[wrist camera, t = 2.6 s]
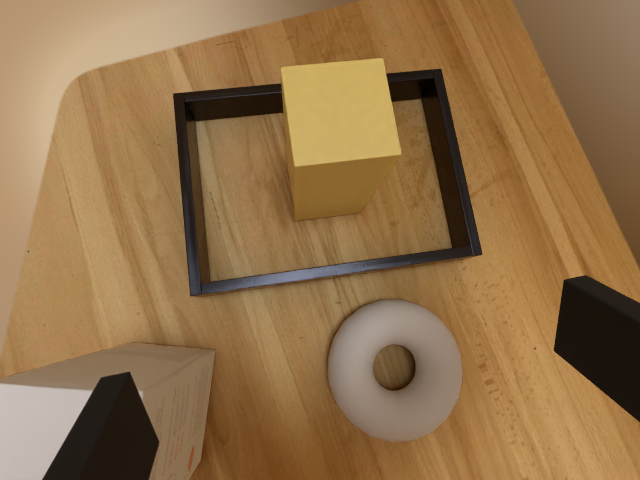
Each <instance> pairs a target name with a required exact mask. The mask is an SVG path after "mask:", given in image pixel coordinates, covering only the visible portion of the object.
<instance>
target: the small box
mask: <svg viewBox="0 0 640 480" xmlns="http://www.w3.org/2000/svg"><path fill="white" fill-rule="evenodd" d="M214 357H215V350H214V349H202V348H190V347H179V346H168V345H157V344H146V343H129V344H126V345H122V346H118V347H114V348H110V349H106V350H102V351H99V352H95V353H92V354H88V355H84V356H81V357H77V358H73V359H69V360H66V361H62V362H58V363H54V364H51V365H48V366H44V367H40V368H37V369H33V370H30V371H26V372H22V373H18V374H15V375H11V376H7V377H4V378H0V480H42V479H43V477H44V475H45V474H46V472H47V470H48V468H49V467H50V465H51V463H52V461H53V460H54V458H55V456H56V454H57V453H58V451H59V449H60V447H61V446H62V444H63V442H64V441H65V439H66V437H67V435H68V434H69V432H70V430H71V428H72V427H73V425H74V423H75V421H76V420H77V418H78V416H79V414H80V413H81V411H82V409H83V407H84V406H85V404H86V402H87V400H88V399H89V397H90V395H91V393H92V392H93V390H94V388H95V387H96V385H97V383H98V381H99V380H100V378H101V377H105V376H110V375H115V374H120V373H124V372H129V371H130V373H131V375H132V378H133V380H134V383H135V385H136V387H137V390H138V392H139V394H140V397H141V399H142V402H143V404H144V406H145V409H146V411H147V413H148V416H149V418H150V421H151V423H152V425H153V428H154V430H155V433H156V435H157V437H158V440H159V442H160V443H159V446H158V450H157V453H156V457H155V460H154V464H153V467H152V471H151V474H150V478H149V480H189V479H190V477H191V475H192V474H193V472H194V470H195V469H196V467H197V466H198V464H199V463H200V461H201V455H202V448H203V441H204V434H205V427H206V419H207V412H208V404H209V397H210V389H211V381H212V374H213V366H214Z"/></svg>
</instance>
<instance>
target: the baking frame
mask: <svg viewBox="0 0 640 480" xmlns="http://www.w3.org/2000/svg"><path fill="white" fill-rule="evenodd" d="M386 76H387V81H388V86H389V91H390V97H391V101H399V100H409V99H419V98H422V101H423V106H424V111H425V116H426V120H427V125H428V130H429V135H430V140H431V144H432V149H433V154H434V159H435V163H436V168H437V173H438V178H439V183H440V187H441V192H442V197H443V202H444V206H445V211H446V216H447V221H448V226H449V230H450V235H451V240H452V245H453V248H451V249H443V250H436V251H429V252H422V253H415V254H408V255H400V256H393V257H386V258H379V259H372V260H365V261H358V262H350V263H343V264H336V265H329V266H322V267H315V268H308V269H300V270H293V271H286V272H279V273H272V274H265V275H258V276H250V277H243V278H236V279H229V280H222V281H215V282H210V274H209V264H208V253H207V242H206V232H205V221H204V211H203V200H202V190H201V179H200V169H199V158H198V148H197V137H196V127H195V121H199V120H209V119H219V118H229V117H239V116H249V115H259V114H269V113H279V112H283V101H282V86H281V84H271V85H260V86H249V87H239V88H228V89H217V90H206V91H196V92H185V93H175V94H173V99H174V110H175V122H176V134H177V145H178V157H179V169H180V181H181V192H182V204H183V216H184V227H185V239H186V251H187V263H188V274H189V286H190V296H195V297H205V296H211V295H219V294H226V293H233V292H240V291H247V290H254V289H261V288H268V287H275V286H282V285H289V284H296V283H303V282H310V281H317V280H324V279H331V278H338V277H345V276H352V275H359V274H366V273H373V272H380V271H386V270H393V269H400V268H407V267H414V266H421V265H428V264H435V263H442V262H449V261H456V260H463V259H467V258H471V257H475V256H479V255H482V250H481V245H480V241H479V236H478V232H477V227H476V223H475V218H474V214H473V209H472V205H471V200H470V196H469V191H468V187H467V182H466V178H465V173H464V169H463V164H462V160H461V155H460V151H459V146H458V142H457V137H456V133H455V128H454V124H453V119H452V115H451V110H450V106H449V101H448V97H447V92H446V88H445V83H444V79H443V74H442V70H441V69H433V70H421V71H410V72H400V73H389V74H386Z"/></svg>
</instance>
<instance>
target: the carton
mask: <svg viewBox="0 0 640 480" xmlns="http://www.w3.org/2000/svg"><path fill="white" fill-rule="evenodd" d="M280 72H281V86H282V101H283V115H284V129H285V143H286V158H287V166H288V173H289V180H290V187H291V195H292V202H293V209H294V216H295V221H301V220H309V219H317V218H324V217H332V216H340V215H348V214H356V213H360V212H361V211H362V210H363V208H364V207H365V205H366V204H367V203H368V201H369V200H370V198H371V197H372V195H373V194H374V193H375V191H376V190H377V188H378V187H379V186H380V184H381V183H382V181H383V180H384V179H385V177H386V176H387V174H388V173H389V172H390V170H391V169H392V167H393V166H394V164H395V163H396V162H397V160H398V159H399V157H400V156H401V154H402V153H401V148H400V143H399V138H398V133H397V128H396V122H395V117H394V112H393V107H392V102H391V97H390V91H389V86H388V81H387V76H386V71H385V66H384V61H383V58H378V59H366V60H355V61H344V62H333V63H321V64H310V65H299V66H288V67H281V68H280Z"/></svg>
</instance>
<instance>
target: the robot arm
mask: <svg viewBox="0 0 640 480" xmlns="http://www.w3.org/2000/svg"><path fill="white" fill-rule="evenodd" d="M554 351H555V352H556V353H557V354H558V355H559V356H561V357H562V358H563V359H564V360H565V361H567V362H568V363H569V364H570V365H572V366H573V367H574V368H575V369H576V370H578V371H579V372H580V373H581V374H582V375H584V376H585V377H586V378H587V379H588V380H590V381H591V382H592V383H593V384H594V385H596V386H597V387H598V388H599V389H600V390H602V391H603V392H604V393H605V394H606V395H608V396H609V397H610V398H611V399H612V400H614V401H615V402H616V403H617V404H618V405H620V406H621V407H622V408H623V409H624V410H626V411H627V412H628V413H629V414H631V415H632V416H633V417H634V418H635V419H637V420H638V421H639V422H640V303H639V302H637V301H635V300H633V299H631V298H629V297H627V296H625V295H623V294H621V293H619V292H617V291H615V290H613V289H612V288H610V287H608V286H606V285H604V284H602V283H600V282H598V281H596V280H594V279H592V278H590V277H588V276H587V275H585V276H580V277H575V278H570V279H566V280H564V283H563V290H562V297H561V304H560V311H559V317H558V324H557V331H556V338H555V345H554ZM159 443H160V442H159V440H158V437H157V435H156V433H155V430H154V428H153V425H152V423H151V421H150V418H149V416H148V413H147V411H146V409H145V406H144V404H143V402H142V399H141V397H140V394H139V392H138V390H137V387H136V385H135V383H134V380H133V378H132V375H131V373H130V371H129V372H124V373H120V374H115V375H110V376H105V377H101V378H100V380H99V381H98V383H97V385H96V387H95V388H94V390H93V392H92V393H91V395H90V397H89V399H88V400H87V402H86V404H85V406H84V407H83V409H82V411H81V413H80V414H79V416H78V418H77V420H76V421H75V423H74V425H73V427H72V428H71V430H70V432H69V434H68V435H67V437H66V439H65V441H64V442H63V444H62V446H61V447H60V449H59V451H58V453H57V454H56V456H55V458H54V460H53V461H52V463H51V465H50V467H49V468H48V470H47V472H46V474H45V475H44V477H43V479H42V480H149V478H150V474H151V471H152V467H153V464H154V460H155V457H156V453H157V450H158V446H159Z"/></svg>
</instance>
